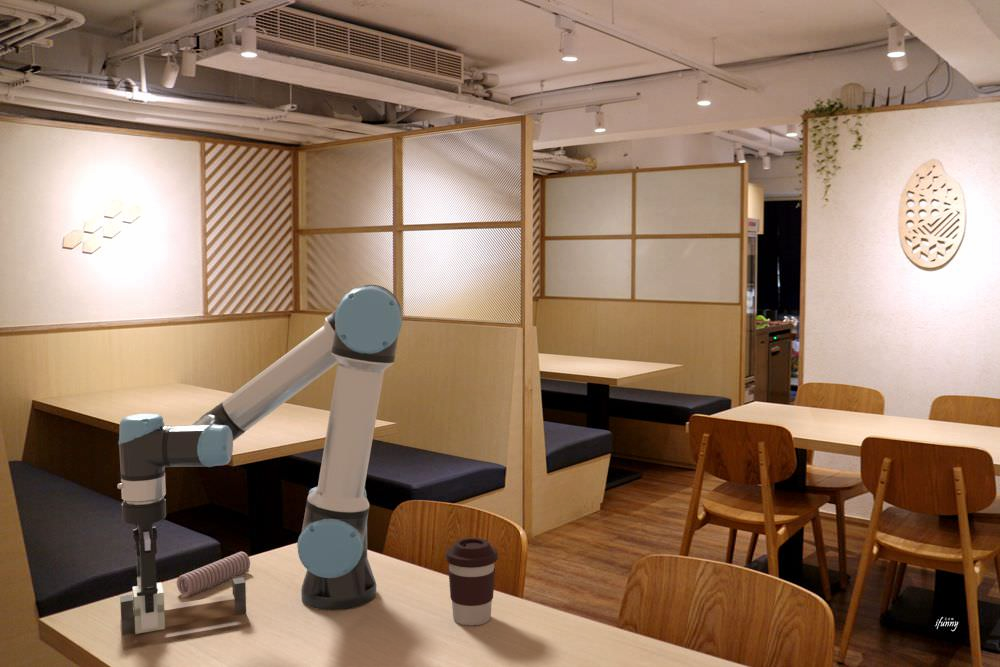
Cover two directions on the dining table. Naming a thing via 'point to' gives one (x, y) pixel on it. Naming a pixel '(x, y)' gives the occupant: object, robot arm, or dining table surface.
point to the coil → (213, 574)
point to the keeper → (138, 609)
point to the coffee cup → (471, 580)
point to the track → (185, 631)
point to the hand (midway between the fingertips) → (147, 618)
